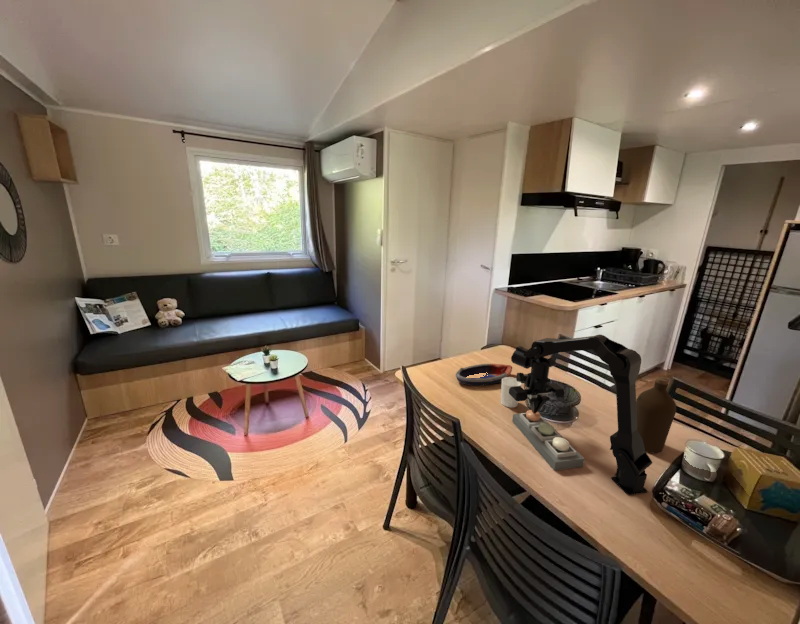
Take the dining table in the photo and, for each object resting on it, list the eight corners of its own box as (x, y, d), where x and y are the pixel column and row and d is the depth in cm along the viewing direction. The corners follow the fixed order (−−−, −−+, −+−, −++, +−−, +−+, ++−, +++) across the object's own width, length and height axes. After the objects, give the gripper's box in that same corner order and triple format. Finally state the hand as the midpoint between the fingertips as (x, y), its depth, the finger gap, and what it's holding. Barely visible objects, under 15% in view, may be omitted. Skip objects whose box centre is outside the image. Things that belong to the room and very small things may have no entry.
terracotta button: (542, 420, 122) (543, 416, 121) (530, 422, 121) (531, 418, 120) (535, 413, 126) (535, 409, 126) (523, 414, 125) (523, 410, 125)
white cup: (499, 406, 138) (502, 384, 135) (498, 397, 145) (501, 375, 143) (519, 409, 136) (522, 387, 134) (518, 399, 144) (521, 378, 141)
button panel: (582, 466, 106) (585, 455, 105) (553, 470, 104) (555, 458, 103) (536, 418, 130) (537, 408, 129) (512, 421, 129) (513, 411, 127)
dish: (448, 376, 164) (448, 367, 162) (502, 368, 173) (503, 359, 172) (464, 392, 150) (465, 381, 148) (522, 382, 159) (523, 372, 158)
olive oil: (647, 457, 111) (665, 388, 104) (619, 437, 120) (634, 373, 113) (672, 452, 113) (692, 384, 106) (643, 433, 123) (659, 370, 116)
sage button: (556, 434, 114) (557, 430, 114) (543, 436, 113) (544, 431, 113) (548, 426, 119) (548, 422, 118) (535, 427, 118) (536, 423, 117)
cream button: (572, 450, 107) (572, 446, 106) (558, 452, 106) (559, 447, 105) (562, 440, 111) (563, 436, 111) (549, 442, 110) (549, 437, 110)
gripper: (549, 362, 128) (544, 399, 132) (503, 365, 125) (499, 403, 129) (569, 375, 117) (562, 415, 122) (519, 379, 114) (514, 420, 118)
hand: (533, 412), depth 123 cm, fingers closed
